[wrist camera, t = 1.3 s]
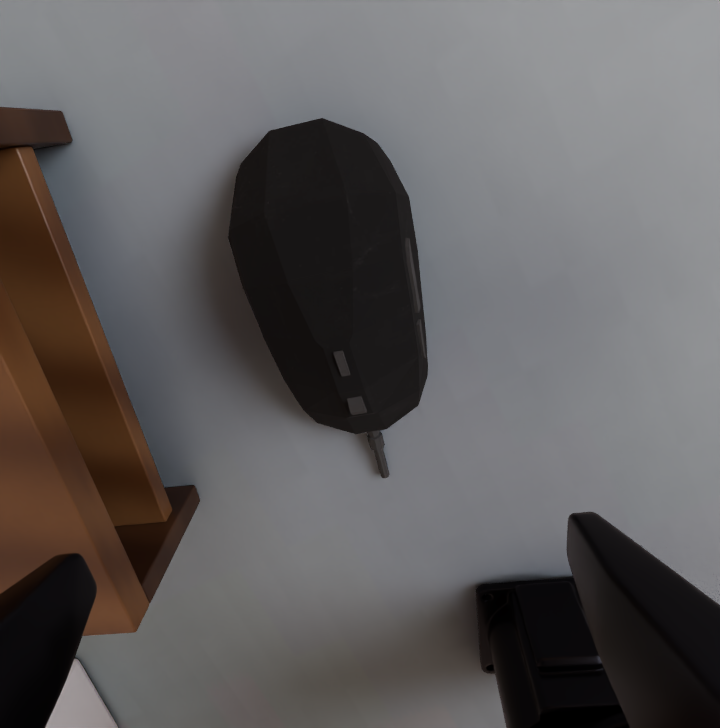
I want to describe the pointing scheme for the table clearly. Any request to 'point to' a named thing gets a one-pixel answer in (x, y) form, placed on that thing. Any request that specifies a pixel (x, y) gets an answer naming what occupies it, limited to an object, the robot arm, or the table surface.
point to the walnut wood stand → (69, 409)
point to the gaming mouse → (333, 275)
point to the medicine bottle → (80, 704)
